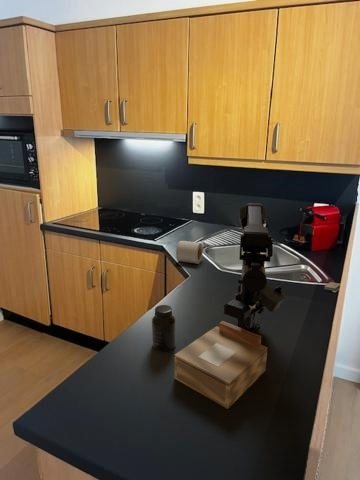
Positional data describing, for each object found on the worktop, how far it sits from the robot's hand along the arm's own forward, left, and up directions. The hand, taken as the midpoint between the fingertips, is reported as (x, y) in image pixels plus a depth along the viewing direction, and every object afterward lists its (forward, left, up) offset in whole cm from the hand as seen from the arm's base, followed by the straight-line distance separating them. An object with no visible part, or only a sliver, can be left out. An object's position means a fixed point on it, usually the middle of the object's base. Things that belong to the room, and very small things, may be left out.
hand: (248, 327), depth 99 cm
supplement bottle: (+13, -20, -8) cm, 25 cm away
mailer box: (+13, 0, -8) cm, 15 cm away
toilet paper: (-47, -59, -8) cm, 76 cm away
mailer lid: (+13, 0, -1) cm, 13 cm away
